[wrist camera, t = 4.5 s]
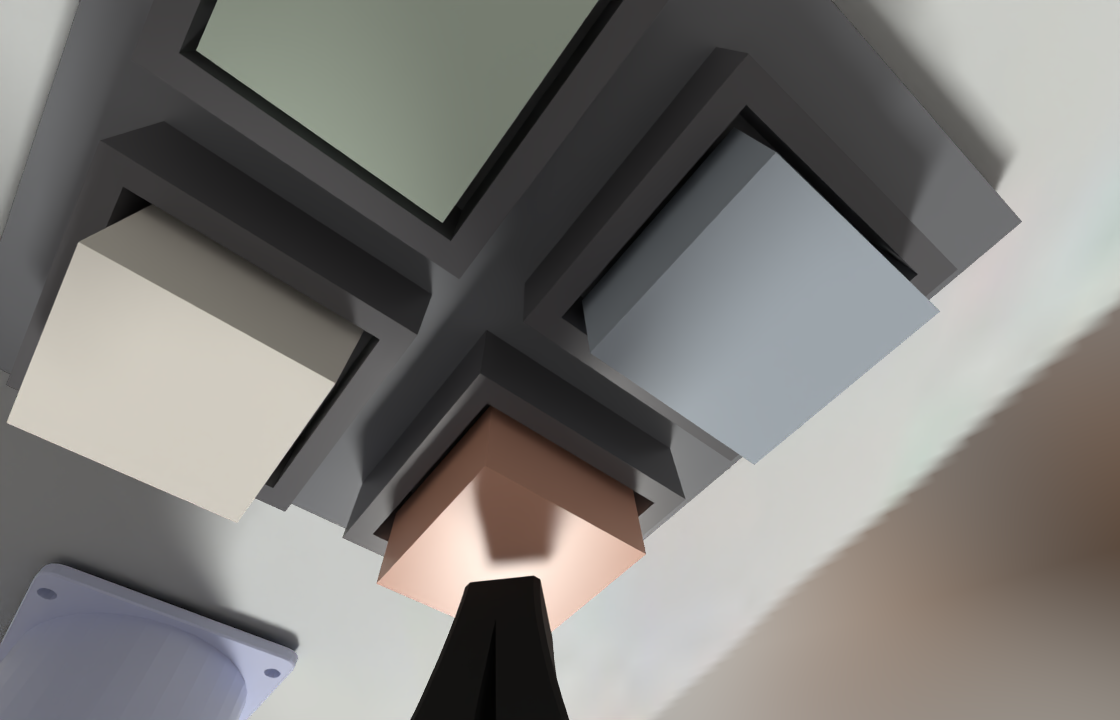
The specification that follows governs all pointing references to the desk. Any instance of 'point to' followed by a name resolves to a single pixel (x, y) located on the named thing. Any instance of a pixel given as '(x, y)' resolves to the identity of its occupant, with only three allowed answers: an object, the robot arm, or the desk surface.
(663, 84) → the keypad
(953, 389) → the desk surface
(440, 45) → the sage key
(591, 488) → the terracotta key
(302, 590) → the desk surface
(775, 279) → the slate key
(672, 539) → the desk surface
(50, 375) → the cream key
